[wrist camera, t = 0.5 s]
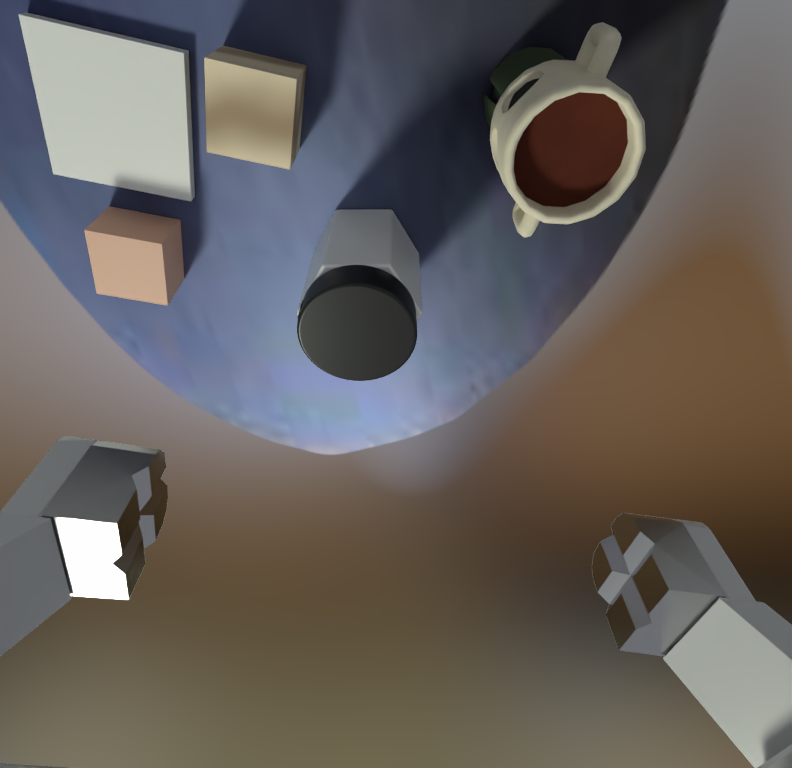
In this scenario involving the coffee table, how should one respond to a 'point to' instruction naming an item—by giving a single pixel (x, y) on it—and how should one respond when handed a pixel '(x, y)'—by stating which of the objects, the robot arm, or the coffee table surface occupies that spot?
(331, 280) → the jar
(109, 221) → the terracotta block
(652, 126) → the coffee table surface
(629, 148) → the character mug
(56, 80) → the base plate
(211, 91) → the maple block
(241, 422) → the coffee table surface
